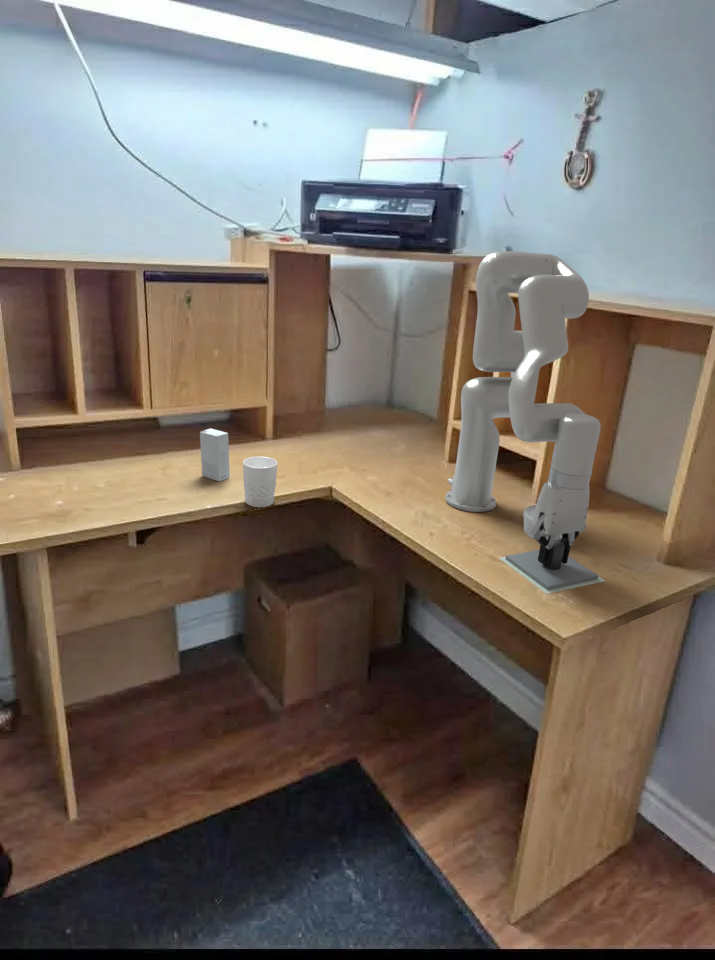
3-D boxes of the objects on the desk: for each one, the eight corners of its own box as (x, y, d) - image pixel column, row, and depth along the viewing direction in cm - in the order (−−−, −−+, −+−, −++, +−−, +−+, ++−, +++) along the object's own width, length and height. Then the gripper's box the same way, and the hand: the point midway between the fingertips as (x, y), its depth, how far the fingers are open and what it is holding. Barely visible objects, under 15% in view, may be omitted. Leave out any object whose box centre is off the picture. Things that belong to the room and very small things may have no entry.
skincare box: (230, 477, 170) (230, 432, 166) (218, 482, 167) (218, 436, 162) (212, 471, 173) (211, 427, 169) (200, 476, 169) (199, 431, 165)
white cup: (266, 511, 153) (266, 470, 149) (236, 504, 155) (236, 463, 152) (282, 499, 160) (283, 460, 156) (253, 492, 162) (253, 454, 159)
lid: (505, 559, 138) (509, 534, 136) (553, 550, 143) (558, 525, 141) (547, 590, 127) (552, 563, 125) (597, 579, 133) (603, 553, 130)
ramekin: (531, 547, 145) (535, 525, 144) (512, 525, 156) (516, 504, 154) (578, 546, 147) (583, 525, 145) (557, 524, 158) (561, 504, 156)
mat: (498, 559, 138) (498, 557, 138) (553, 549, 145) (554, 547, 145) (546, 596, 126) (546, 593, 126) (604, 583, 132) (605, 580, 132)
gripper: (587, 467, 135) (570, 548, 141) (522, 475, 128) (507, 559, 134) (615, 480, 128) (596, 564, 135) (548, 489, 121) (531, 577, 128)
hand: (552, 561), depth 135 cm, fingers closed on lid, 3 cm apart
